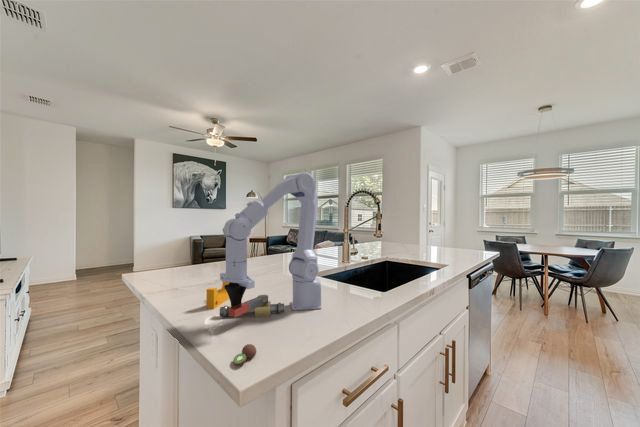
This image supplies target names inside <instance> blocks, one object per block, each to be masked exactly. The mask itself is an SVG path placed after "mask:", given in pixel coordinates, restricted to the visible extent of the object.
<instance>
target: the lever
mask: <svg viewBox="0 0 640 427" xmlns="http://www.w3.org/2000/svg"><path fill="white" fill-rule="evenodd" d="M268 302H269V295H267V294H261V295H258V296H256V297H253V298H252V299H249V300H246V301H244V302H241V304H238V305H236V306H233V307H231V308H229V317H233V318H237V317H239V316H242V315H241V314H244V313H246V312H248V311H250V310H252V309H255V308H257V307H259V306H261V305H265V304H268Z"/></svg>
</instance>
